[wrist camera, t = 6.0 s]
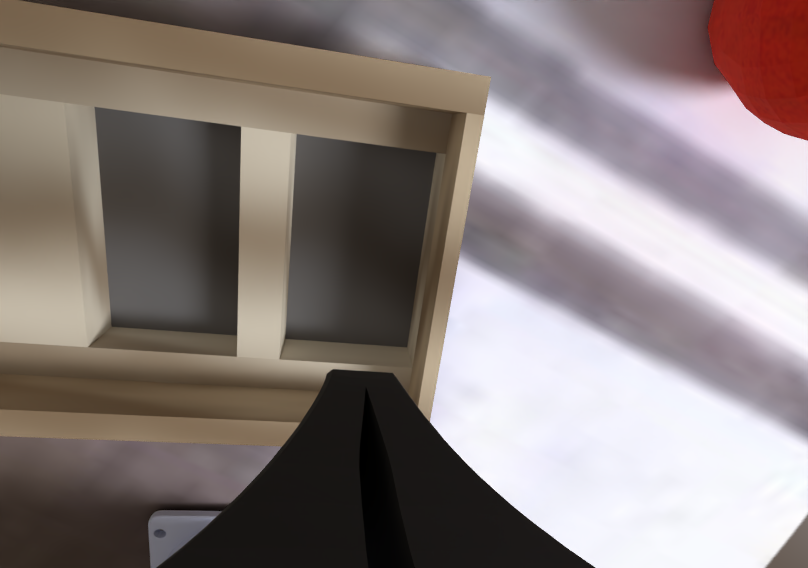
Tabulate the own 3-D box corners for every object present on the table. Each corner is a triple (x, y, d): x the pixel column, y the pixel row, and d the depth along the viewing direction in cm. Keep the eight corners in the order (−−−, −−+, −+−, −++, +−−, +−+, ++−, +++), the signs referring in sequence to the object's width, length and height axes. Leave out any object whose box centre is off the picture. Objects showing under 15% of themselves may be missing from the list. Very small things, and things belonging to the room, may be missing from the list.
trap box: (409, 395, 20) (423, 457, 17) (-232, 360, 17) (-398, 428, 13) (459, 79, 16) (493, 67, 13) (-376, -54, 13) (-680, -128, 9)
